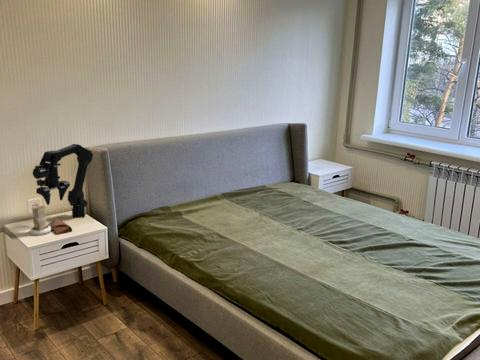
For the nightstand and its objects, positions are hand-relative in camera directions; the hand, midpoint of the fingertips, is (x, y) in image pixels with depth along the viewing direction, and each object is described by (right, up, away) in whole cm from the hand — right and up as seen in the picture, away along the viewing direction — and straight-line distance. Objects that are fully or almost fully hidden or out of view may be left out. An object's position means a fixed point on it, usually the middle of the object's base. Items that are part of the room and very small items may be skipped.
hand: (54, 202), depth 251 cm
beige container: (-5, -13, -8) cm, 16 cm away
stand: (-4, -15, -7) cm, 17 cm away
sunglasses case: (+3, -15, -2) cm, 15 cm away
